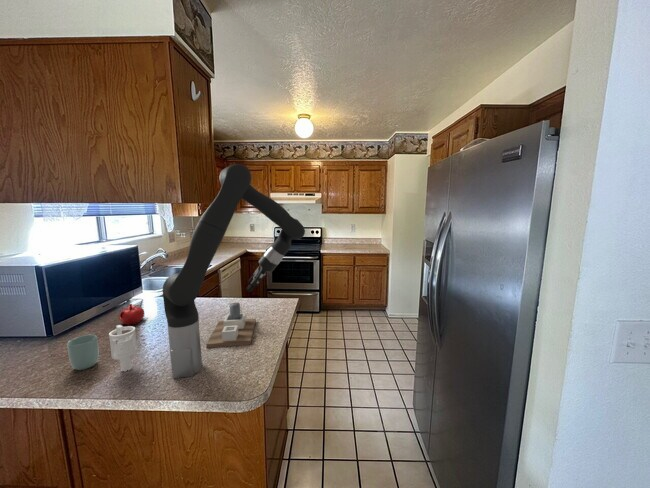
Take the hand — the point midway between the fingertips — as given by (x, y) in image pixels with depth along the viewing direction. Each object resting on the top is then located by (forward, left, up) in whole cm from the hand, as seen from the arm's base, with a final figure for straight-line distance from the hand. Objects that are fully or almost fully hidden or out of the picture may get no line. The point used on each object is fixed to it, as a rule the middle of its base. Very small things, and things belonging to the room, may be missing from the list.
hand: (249, 286), depth 117 cm
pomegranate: (+20, +58, -21) cm, 65 cm away
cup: (-18, +54, -21) cm, 61 cm away
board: (-1, +7, -21) cm, 22 cm away
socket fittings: (-1, +7, -19) cm, 21 cm away
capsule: (+4, +7, -19) cm, 21 cm away
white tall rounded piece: (-22, +39, -21) cm, 50 cm away
